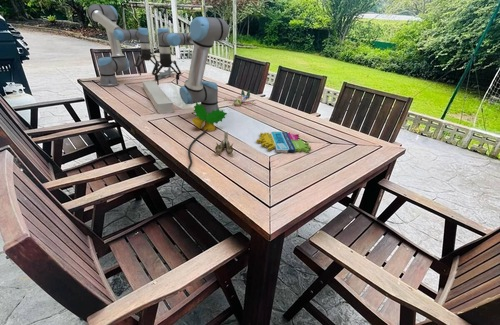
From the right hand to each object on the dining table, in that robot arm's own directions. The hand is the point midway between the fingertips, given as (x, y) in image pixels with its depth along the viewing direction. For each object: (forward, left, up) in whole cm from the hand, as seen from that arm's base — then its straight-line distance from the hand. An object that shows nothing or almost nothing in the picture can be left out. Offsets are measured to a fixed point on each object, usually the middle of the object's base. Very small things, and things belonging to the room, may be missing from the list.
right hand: (167, 84), depth 190 cm
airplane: (+103, +4, -16) cm, 105 cm away
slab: (+20, +10, -16) cm, 28 cm away
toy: (+8, -58, -16) cm, 61 cm away
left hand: (+48, +16, -3) cm, 51 cm away
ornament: (-48, -23, -16) cm, 56 cm away
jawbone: (-81, -27, -16) cm, 87 cm away
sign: (-75, -62, -16) cm, 99 cm away
